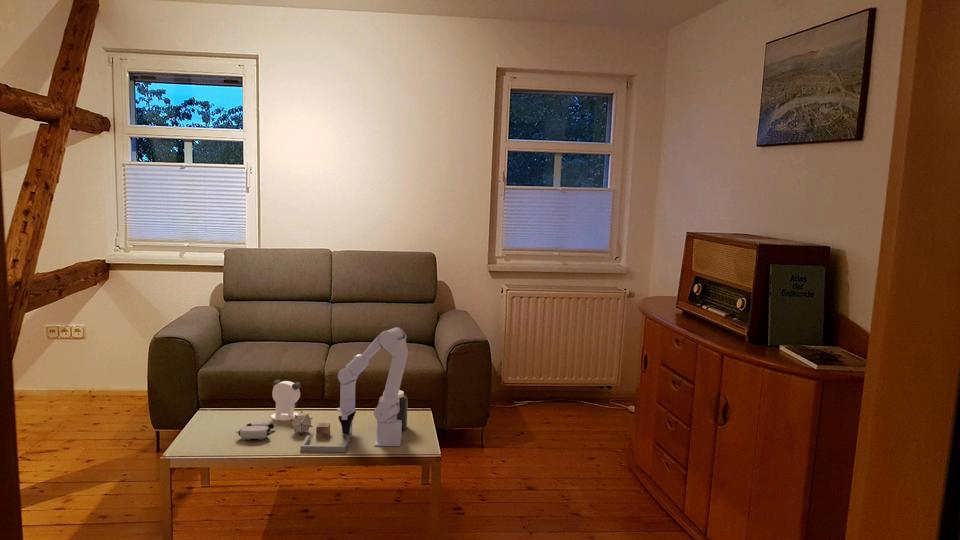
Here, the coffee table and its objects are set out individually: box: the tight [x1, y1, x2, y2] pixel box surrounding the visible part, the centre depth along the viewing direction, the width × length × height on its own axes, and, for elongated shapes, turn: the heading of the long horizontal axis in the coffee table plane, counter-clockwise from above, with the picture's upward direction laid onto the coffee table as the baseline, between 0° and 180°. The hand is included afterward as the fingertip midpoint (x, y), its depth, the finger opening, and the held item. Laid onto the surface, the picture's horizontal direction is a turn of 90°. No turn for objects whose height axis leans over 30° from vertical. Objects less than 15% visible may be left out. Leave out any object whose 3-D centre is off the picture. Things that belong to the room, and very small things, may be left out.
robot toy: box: [235, 421, 277, 441], centre depth 234 cm, size 12×4×15 cm
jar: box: [378, 389, 409, 433], centre depth 248 cm, size 12×12×15 cm
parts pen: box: [300, 434, 351, 453], centre depth 227 cm, size 16×11×2 cm
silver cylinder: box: [341, 421, 353, 438], centre depth 238 cm, size 4×4×6 cm
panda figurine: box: [270, 379, 302, 422], centre depth 257 cm, size 12×11×15 cm
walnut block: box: [315, 422, 331, 439], centre depth 237 cm, size 4×4×4 cm
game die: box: [289, 410, 314, 436], centre depth 239 cm, size 9×8×10 cm
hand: (347, 431), depth 238 cm, fingers closed on silver cylinder, 4 cm apart
